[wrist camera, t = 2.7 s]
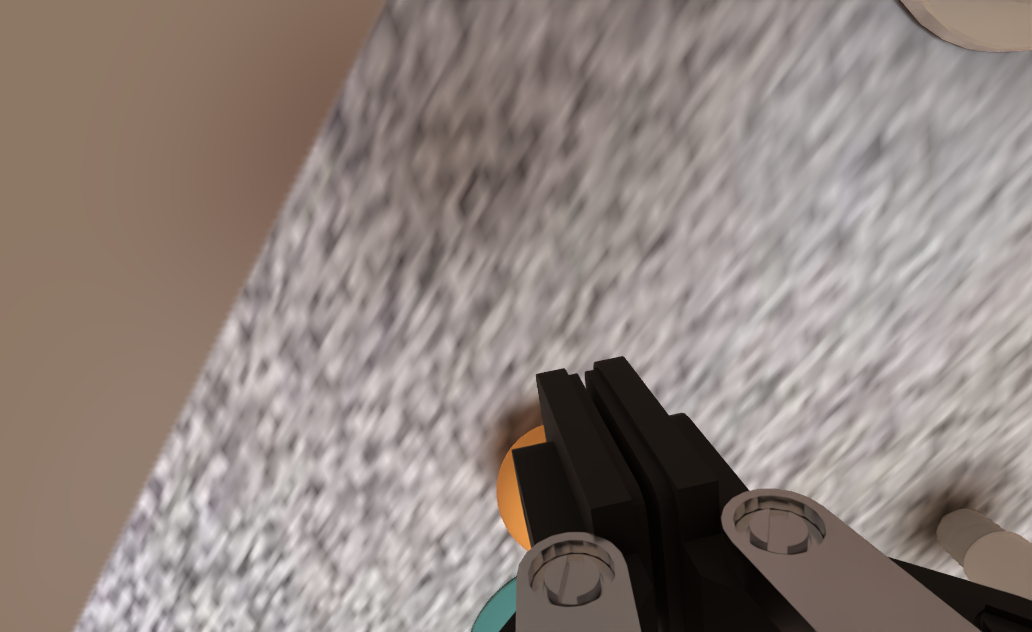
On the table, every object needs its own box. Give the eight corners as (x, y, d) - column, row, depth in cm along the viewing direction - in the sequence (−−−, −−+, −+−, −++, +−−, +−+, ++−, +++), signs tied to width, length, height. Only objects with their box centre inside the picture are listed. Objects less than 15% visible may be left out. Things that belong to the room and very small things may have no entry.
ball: (481, 411, 26) (491, 491, 20) (605, 386, 26) (646, 458, 21) (502, 513, 28) (516, 609, 22) (616, 489, 28) (657, 578, 23)
